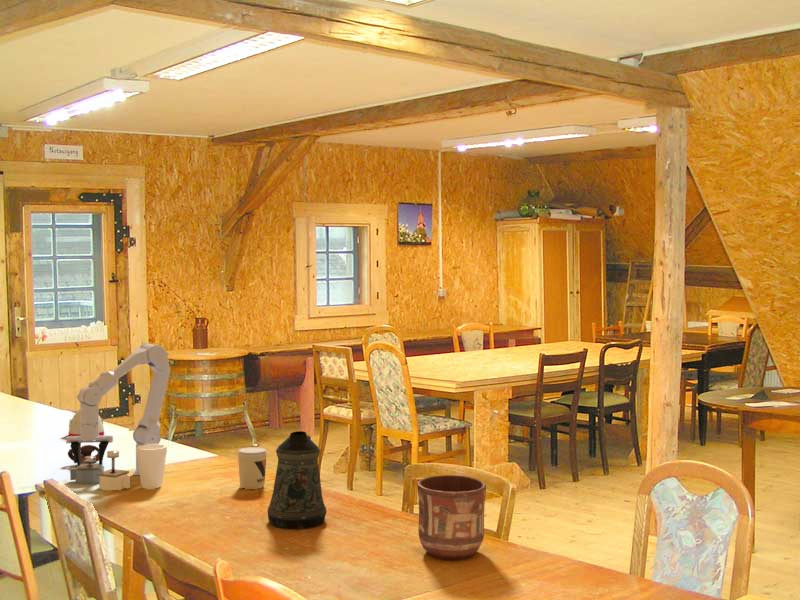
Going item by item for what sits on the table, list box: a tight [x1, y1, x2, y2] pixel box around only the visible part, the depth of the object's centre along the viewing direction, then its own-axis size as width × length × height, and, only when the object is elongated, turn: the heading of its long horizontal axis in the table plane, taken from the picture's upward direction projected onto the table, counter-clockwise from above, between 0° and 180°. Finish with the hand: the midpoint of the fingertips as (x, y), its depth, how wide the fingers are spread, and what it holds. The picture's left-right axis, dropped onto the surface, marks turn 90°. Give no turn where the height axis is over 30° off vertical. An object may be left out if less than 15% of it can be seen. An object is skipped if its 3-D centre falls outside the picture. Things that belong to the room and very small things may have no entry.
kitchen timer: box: [68, 409, 105, 436], centre depth 391 cm, size 14×14×15 cm
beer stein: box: [267, 430, 327, 531], centre depth 269 cm, size 16×19×25 cm
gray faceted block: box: [69, 462, 105, 485], centre depth 313 cm, size 10×8×5 cm
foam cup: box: [135, 443, 168, 490], centre depth 306 cm, size 10×9×13 cm
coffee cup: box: [237, 446, 268, 490], centre depth 307 cm, size 9×9×12 cm
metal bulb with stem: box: [84, 455, 96, 467], centre depth 313 cm, size 4×4×7 cm
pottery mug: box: [67, 444, 99, 464], centre depth 335 cm, size 12×10×8 cm
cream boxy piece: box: [97, 468, 131, 491], centre depth 304 cm, size 10×8×5 cm
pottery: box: [416, 474, 487, 561], centre depth 241 cm, size 18×18×18 cm
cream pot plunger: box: [106, 450, 120, 473], centre depth 304 cm, size 4×4×7 cm
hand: (89, 464), depth 313 cm, fingers open, 6 cm apart
